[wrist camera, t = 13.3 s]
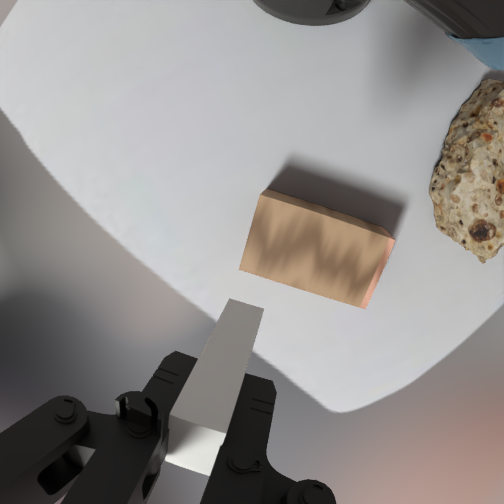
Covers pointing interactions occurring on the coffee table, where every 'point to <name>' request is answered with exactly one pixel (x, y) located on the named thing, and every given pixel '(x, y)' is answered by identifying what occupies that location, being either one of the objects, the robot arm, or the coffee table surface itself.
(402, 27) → the coffee table surface
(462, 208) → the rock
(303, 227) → the light brown wooden block
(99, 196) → the coffee table surface
